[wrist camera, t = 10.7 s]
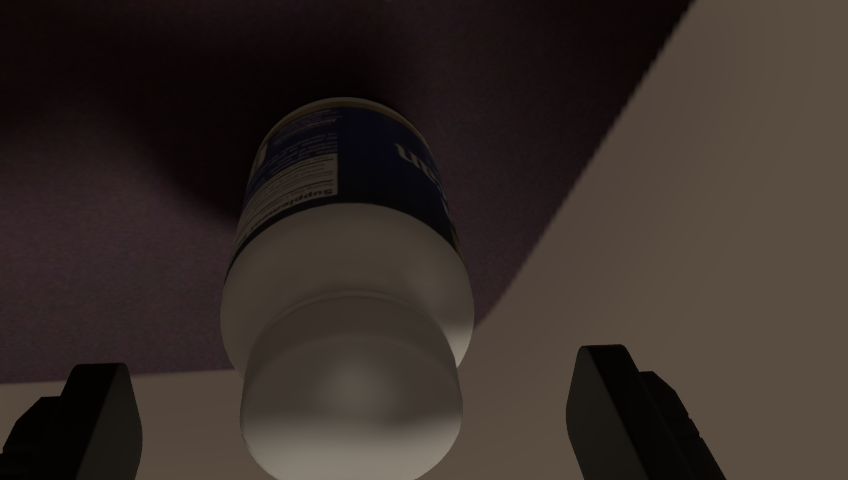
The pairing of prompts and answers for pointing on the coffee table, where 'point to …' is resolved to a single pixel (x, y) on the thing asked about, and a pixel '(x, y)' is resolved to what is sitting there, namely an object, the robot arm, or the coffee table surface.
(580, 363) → the robot arm
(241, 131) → the coffee table surface
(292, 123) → the pill bottle
